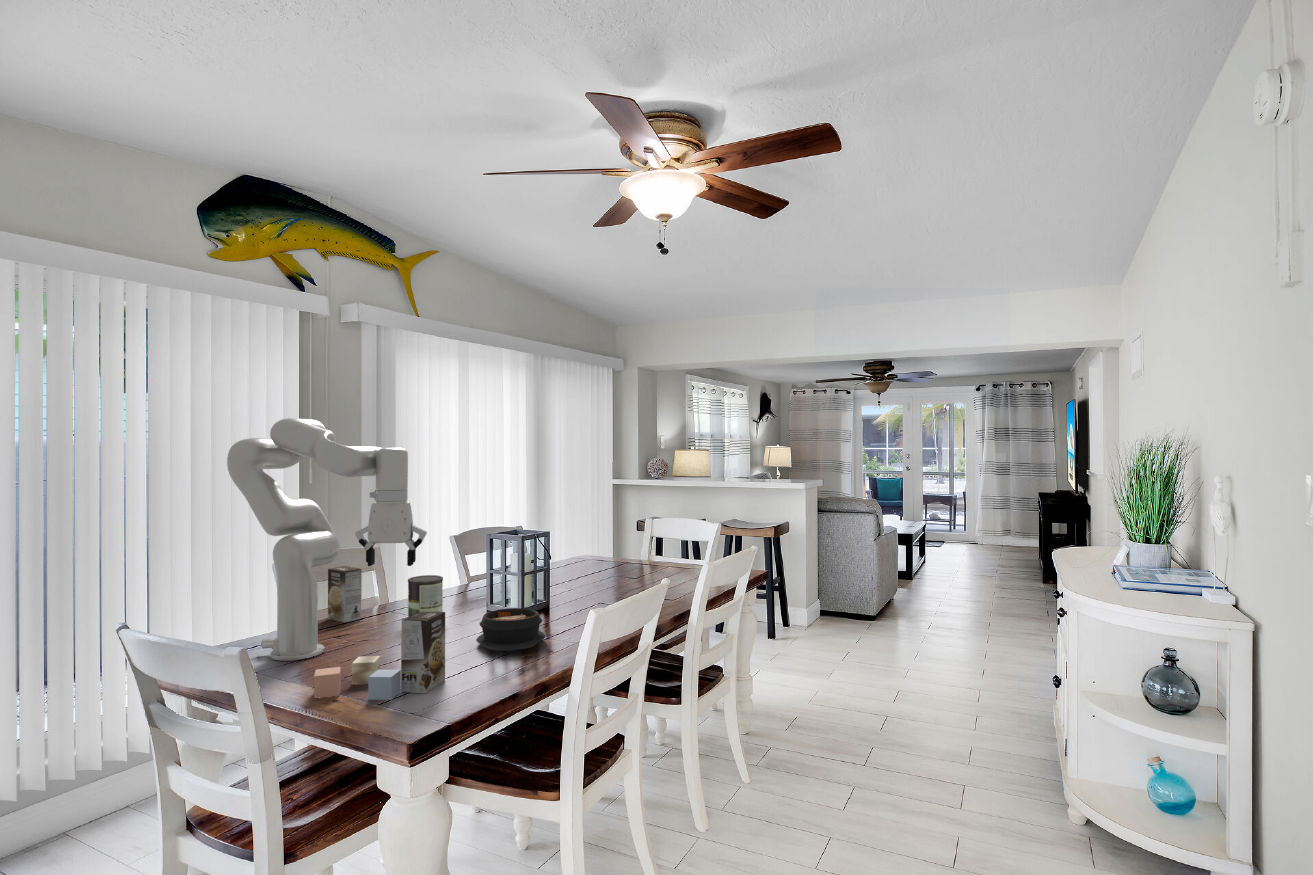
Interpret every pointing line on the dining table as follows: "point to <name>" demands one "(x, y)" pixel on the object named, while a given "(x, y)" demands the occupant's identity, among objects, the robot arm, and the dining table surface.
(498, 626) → the casserole
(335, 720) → the dining table surface
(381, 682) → the slate block
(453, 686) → the dining table surface
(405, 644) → the coffee box
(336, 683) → the terracotta block
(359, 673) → the maple cube
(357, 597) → the coffee box
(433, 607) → the coffee can
